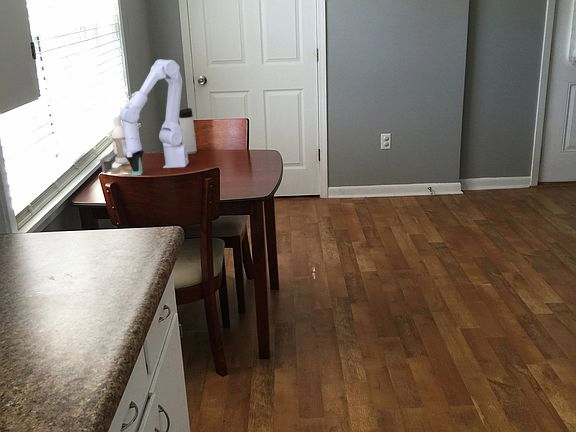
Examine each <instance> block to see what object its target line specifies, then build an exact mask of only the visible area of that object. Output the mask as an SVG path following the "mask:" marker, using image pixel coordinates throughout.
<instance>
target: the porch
mask: <svg viewBox="0 0 576 432" xmlns="http://www.w3.org/2000/svg"><path fill="white" fill-rule="evenodd" d="M116 156H117V154H114V153H107V154H105V156H103V157H102V158H100V159H99V162H100V164H101V170H102V173H103V172H104V173H108V172H111V174H123V173H128V174H133V173H132V168H131V165H130V163H129V162H128V163H120V165H119V166H117V167H113V164H112V160H113V159H115V157H116Z"/></svg>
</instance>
